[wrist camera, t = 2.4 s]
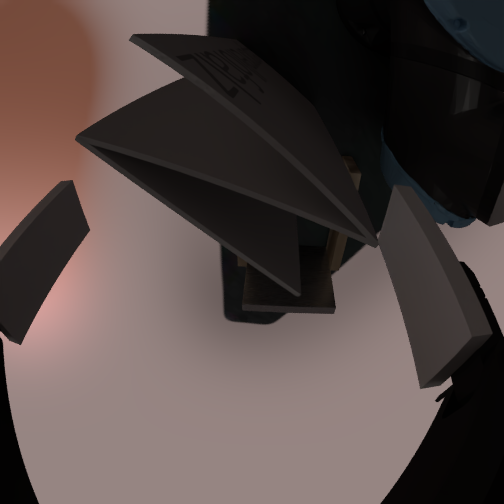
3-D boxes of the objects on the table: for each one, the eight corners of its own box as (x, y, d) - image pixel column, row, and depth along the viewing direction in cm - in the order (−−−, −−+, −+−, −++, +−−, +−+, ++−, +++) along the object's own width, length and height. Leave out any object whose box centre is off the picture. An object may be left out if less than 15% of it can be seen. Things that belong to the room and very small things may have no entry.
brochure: (314, 106, 36) (380, 245, 13) (286, 131, 38) (298, 297, 16) (236, 39, 30) (133, 34, 8) (209, 68, 33) (74, 139, 10)
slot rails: (351, 156, 40) (361, 173, 36) (334, 247, 52) (338, 270, 47) (238, 149, 41) (233, 166, 37) (241, 243, 53) (237, 266, 48)
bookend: (326, 247, 52) (335, 307, 42) (324, 253, 53) (333, 313, 42) (249, 243, 53) (242, 304, 42) (250, 249, 54) (242, 310, 43)
